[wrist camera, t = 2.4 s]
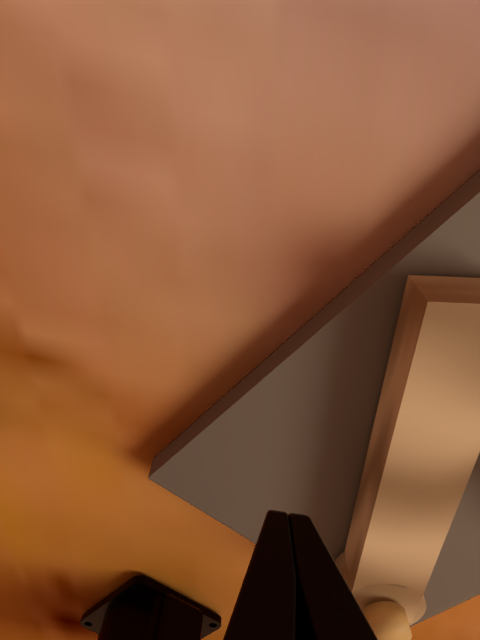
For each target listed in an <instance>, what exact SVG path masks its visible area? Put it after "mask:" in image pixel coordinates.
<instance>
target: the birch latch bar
mask: <svg viewBox="0 0 480 640" xmlns="http://www.w3.org/2000/svg"><path fill="white" fill-rule="evenodd" d="M479 452H480V278H469V277H446V276H423V275H408V278H407V282H406V286H405V291H404V295H403V300H402V304H401V308H400V313H399V317H398V321H397V326H396V330H395V334H394V339H393V343H392V347H391V352H390V356H389V360H388V365H387V369H386V373H385V378H384V382H383V386H382V391H381V395H380V399H379V404H378V408H377V412H376V417H375V421H374V425H373V430H372V434H371V439H370V443H369V447H368V452H367V456H366V460H365V465H364V469H363V473H362V478H361V482H360V486H359V491H358V495H357V499H356V504H355V508H354V512H353V517H352V521H351V525H350V530H349V534H348V538H347V543H346V547H345V551H344V552H343V553H341V554H340V555H339V556H338V557H337V559H336V560H335V563H336V565H337V567H338V568H339V570H340V572H341V574H342V576H343V578H344V579H345V581H346V583H347V585H348V587H349V588H350V590H351V592H352V594H353V596H354V597H355V599H356V601H357V603H358V605H359V606H360V608H361V610H362V611H363V609H364V608H365V607H366V606H368V605H370V604H372V603H375V602H380V601H390V602H395V603H398V604H400V605H401V606H403V607H404V609H405V611H406V615H407V619H408V622H409V626H410V625H412V624H414V623H415V622H417V621H418V620H419V619H420V618H421V617H422V616H423V615H424V613H425V611H426V601H425V598H424V591H425V589H426V586H427V584H428V581H429V579H430V576H431V574H432V571H433V569H434V566H435V564H436V561H437V558H438V556H439V553H440V551H441V548H442V546H443V543H444V541H445V538H446V536H447V533H448V531H449V528H450V526H451V523H452V521H453V518H454V516H455V513H456V510H457V508H458V505H459V503H460V500H461V498H462V495H463V493H464V490H465V488H466V485H467V483H468V480H469V478H470V475H471V473H472V470H473V468H474V465H475V463H476V460H477V457H478V455H479Z"/></svg>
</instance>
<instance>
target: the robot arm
mask: <svg viewBox="0 0 480 640" xmlns="http://www.w3.org/2000/svg"><path fill="white" fill-rule="evenodd" d="M80 624H81V625H82V626H83V627H85V628H87V629H89V630H91V631H93V632H96V633H98V634H99V636H98V640H201V639H202V638H204V637H205V636H207V635H209V634H211V633H212V632H214V631H216V630H217V629H219V628H220V627H221V617H220V616H219V615H217V614H215V613H214V612H212V611H210V610H208V609H206V608H204V607H202V606H200V605H198V604H197V603H195V602H193V601H191V600H189V599H187V598H185V597H183V596H181V595H179V594H178V593H176V592H174V591H172V590H170V589H168V588H166V587H164V586H162V585H160V584H159V583H157V582H155V581H153V580H151V579H149V578H147V577H145V576H135V577H134V578H132V579H131V580H129V581H128V582H127V583H125V584H124V585H123V586H121V587H120V588H119V589H117V590H116V591H114V592H113V593H112V594H110V595H109V596H108V597H106V598H105V599H104V600H102V601H101V602H99V603H98V604H97V605H95V606H94V607H93V608H91V609H90V610H89V611H87V612H86V613H84V614H83V616H82V619H81V622H80ZM223 640H378V639H377V637H376V635H375V633H374V632H373V630H372V628H371V626H370V624H369V623H368V621H367V619H366V617H365V615H364V614H363V612H362V610H361V608H360V606H359V605H358V603H357V601H356V599H355V597H354V596H353V594H352V592H351V590H350V588H349V587H348V585H347V583H346V581H345V579H344V578H343V576H342V574H341V572H340V570H339V568H338V567H337V565H336V563H335V561H334V559H333V558H332V556H331V554H330V552H329V550H328V549H327V547H326V545H325V543H324V541H323V540H322V538H321V536H320V534H319V532H318V531H317V529H316V527H315V525H314V523H313V522H312V520H311V518H310V517H309V516H307V515H303V514H297V513H289V514H287V513H286V512H283V511H276V510H268V511H267V513H266V516H265V519H264V522H263V525H262V528H261V531H260V534H259V537H258V540H257V543H256V545H255V548H254V551H253V554H252V557H251V560H250V563H249V566H248V569H247V572H246V575H245V578H244V580H243V583H242V586H241V589H240V592H239V595H238V598H237V601H236V604H235V607H234V610H233V613H232V615H231V618H230V621H229V624H228V627H227V630H226V633H225V636H224V639H223Z"/></svg>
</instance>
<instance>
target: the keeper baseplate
mask: <svg viewBox="0 0 480 640" xmlns="http://www.w3.org/2000/svg"><path fill="white" fill-rule="evenodd" d="M408 275H423V276H446V277H469V278H480V170H479V171H478V172H477V173H476V174H475V175H473V176H472V177H471V178H470V179H469V180H468V181H467V182H466V183H464V184H463V185H462V186H461V187H460V188H459V189H458V190H457V191H455V192H454V193H453V194H452V195H451V196H450V197H449V198H447V199H446V200H445V201H444V202H443V203H442V204H441V205H440V206H438V207H437V208H436V209H435V210H434V211H433V212H432V213H430V214H429V215H428V216H427V217H426V218H425V219H424V220H423V221H421V222H420V223H419V224H418V225H417V226H416V227H415V228H414V229H412V230H411V231H410V232H409V233H408V234H407V235H406V236H404V237H403V238H402V239H401V240H400V241H399V242H398V243H397V244H395V245H394V246H393V247H392V248H391V249H390V250H389V251H387V252H386V253H385V254H384V255H383V256H382V257H381V258H380V259H378V260H377V261H376V262H375V263H374V264H373V265H372V266H371V267H369V268H368V269H367V270H366V271H365V272H364V273H363V274H361V275H360V276H359V277H358V278H357V279H356V280H355V281H354V282H352V283H351V284H350V285H349V286H348V287H347V288H346V289H344V290H343V291H342V292H341V293H340V294H339V295H338V296H337V297H335V298H334V299H333V300H332V301H331V302H330V303H329V304H328V305H326V306H325V307H324V308H323V309H322V310H321V311H320V312H318V313H317V314H316V315H315V316H314V317H313V318H312V319H311V320H309V321H308V322H307V323H306V324H305V325H304V326H303V327H301V328H300V329H299V330H298V331H297V332H296V333H295V334H294V335H292V336H291V337H290V338H289V339H288V340H287V341H286V342H285V343H283V344H282V345H281V346H280V347H279V348H278V349H277V350H275V351H274V352H273V353H272V354H271V355H270V356H269V357H268V358H266V359H265V360H264V361H263V362H262V363H261V364H260V365H258V366H257V367H256V368H255V369H254V370H253V371H252V372H251V373H249V374H248V375H247V376H246V377H245V378H244V379H243V380H242V381H240V382H239V383H238V384H237V385H236V386H235V387H234V388H232V389H231V390H230V391H229V392H228V393H227V394H226V395H225V396H223V397H222V398H221V399H220V400H219V401H218V402H217V403H215V404H214V405H213V406H212V407H211V408H210V409H209V410H208V411H206V412H205V413H204V414H203V415H202V416H201V417H200V418H199V419H197V420H196V421H195V422H194V423H193V424H192V425H191V426H189V427H188V428H187V429H186V430H185V431H184V432H183V433H182V434H180V435H179V436H178V437H177V438H176V439H175V440H174V441H172V442H171V443H170V444H169V445H168V446H167V447H166V448H165V449H163V450H162V451H161V452H160V453H159V454H158V455H157V456H156V457H154V458H153V462H152V465H151V469H150V473H149V476H148V478H149V479H150V480H152V481H154V482H155V483H157V484H158V485H160V486H162V487H163V488H165V489H167V490H168V491H170V492H172V493H173V494H175V495H177V496H178V497H180V498H181V499H183V500H185V501H186V502H188V503H190V504H191V505H193V506H195V507H196V508H198V509H200V510H201V511H203V512H204V513H206V514H208V515H209V516H211V517H213V518H214V519H216V520H218V521H219V522H221V523H222V524H224V525H226V526H227V527H229V528H231V529H232V530H234V531H236V532H237V533H239V534H241V535H242V536H244V537H245V538H247V539H249V540H250V541H252V542H254V543H255V544H256V543H257V540H258V537H259V534H260V531H261V528H262V525H263V522H264V519H265V516H266V513H267V511H268V510H276V511H283V512H286V513H287V514H289V513H297V514H303V515H307V516H309V517H310V518H311V520H312V522H313V523H314V525H315V527H316V529H317V531H318V532H319V534H320V536H321V538H322V540H323V541H324V543H325V545H326V547H327V549H328V550H329V552H330V554H331V556H332V558H333V559H334V561H335V560H336V559H337V557H338V556H339V555H340V554H341V553H343V552H344V551H345V547H346V543H347V538H348V534H349V530H350V525H351V521H352V517H353V512H354V508H355V504H356V499H357V495H358V491H359V486H360V482H361V478H362V473H363V469H364V465H365V460H366V456H367V452H368V447H369V443H370V439H371V434H372V430H373V425H374V421H375V417H376V412H377V408H378V404H379V399H380V395H381V391H382V386H383V382H384V378H385V373H386V369H387V365H388V360H389V356H390V352H391V347H392V343H393V339H394V334H395V330H396V326H397V321H398V317H399V313H400V308H401V304H402V300H403V295H404V291H405V286H406V282H407V278H408ZM479 594H480V452H479V455H478V457H477V460H476V463H475V465H474V468H473V470H472V473H471V475H470V478H469V480H468V483H467V485H466V488H465V490H464V493H463V495H462V498H461V500H460V503H459V505H458V508H457V510H456V513H455V516H454V518H453V521H452V523H451V526H450V528H449V531H448V533H447V536H446V538H445V541H444V543H443V546H442V548H441V551H440V553H439V556H438V558H437V561H436V564H435V566H434V569H433V571H432V574H431V576H430V579H429V581H428V584H427V586H426V589H425V591H424V598H425V601H426V611H425V613H424V615H423V616H422V617H421V618H420V619H419V620H418V621H417V622H415V623H414V624H412V625H410V626H409V622H408V619H407V615H406V611H405V609H404V607H403V606H401V605H400V604H398V603H395V602H390V601H380V602H375V603H372V604H370V605H368V606H366V607H365V608H364V609H363V611H362V612H363V614H364V615H365V617H366V619H367V621H368V623H369V624H370V626H371V628H372V630H373V632H374V633H375V635H376V637H377V639H378V640H411V638H412V633H411V630H410V627H411V626H413V625H415V624H417V623H419V622H422V621H424V620H426V619H428V618H430V617H432V616H434V615H437V614H439V613H441V612H443V611H445V610H447V609H449V608H452V607H454V606H456V605H458V604H460V603H462V602H464V601H467V600H469V599H471V598H473V597H475V596H477V595H479Z"/></svg>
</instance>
